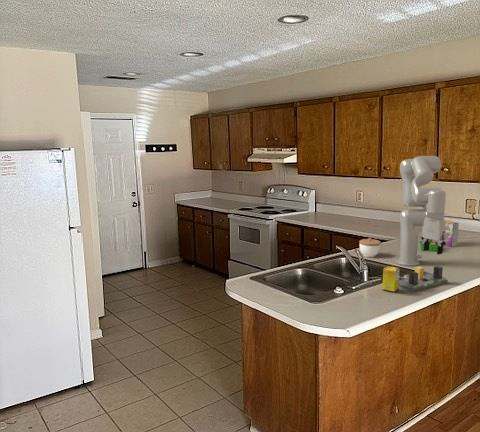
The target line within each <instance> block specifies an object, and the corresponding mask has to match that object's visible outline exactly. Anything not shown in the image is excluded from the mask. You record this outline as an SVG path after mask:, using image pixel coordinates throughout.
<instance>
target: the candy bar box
mask: <svg viewBox="0 0 480 432" xmlns="http://www.w3.org/2000/svg"><path fill="white" fill-rule="evenodd" d="M444 220H445V224H446V235H447V237H448V238H449V239H450V240H449V241H448V242H447V244H445V246H447V247H449V248H455V247H457V246H458V238H459V237H458V236H459V223H460V222H457V221H452V220H450V219H444ZM443 241H444V240H443ZM440 242H441V241H440Z"/></svg>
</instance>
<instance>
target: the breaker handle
mask: <svg viewBox="0 0 480 432" xmlns="http://www.w3.org/2000/svg"><path fill="white" fill-rule="evenodd" d="M424 270H425V268H424V267H421V266H415V267H414V272H417V273H418V279H419V280H423V274H424Z"/></svg>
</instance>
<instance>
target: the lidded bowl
mask: <svg viewBox="0 0 480 432" xmlns="http://www.w3.org/2000/svg"><path fill="white" fill-rule="evenodd" d="M358 242H359V251H360V254H362V255H363V256H364V257H366V258H375V257H376V256H377V255H378V254H379V253H380V251H381V241H380V240H378V239H372V238H371V237H369V238H363V239H360V240H359V241H358Z"/></svg>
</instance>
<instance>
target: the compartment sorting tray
mask: <svg viewBox="0 0 480 432" xmlns="http://www.w3.org/2000/svg"><path fill="white" fill-rule="evenodd" d="M443 270H444V269H443V267H442V266H440V265H436V266H433V271H432V272H433V273H431V272H427V271H424V274H423V280H419V279H418V273H417V272H415V271H410V272H408V274H403V277H402V276H399V288H400V289H403V290H406V291H409V292H413V293H414V292H418V291H421V290H424V289H429V288H432V287H436V286H440V285H443V284H448V283H449V280H448V279H447V277H444V276H443Z"/></svg>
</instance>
